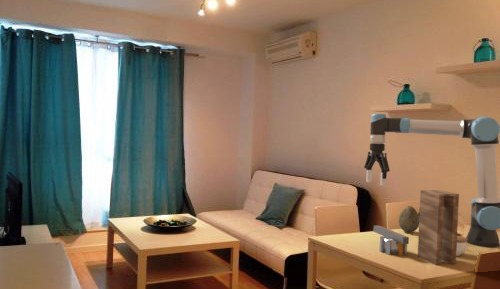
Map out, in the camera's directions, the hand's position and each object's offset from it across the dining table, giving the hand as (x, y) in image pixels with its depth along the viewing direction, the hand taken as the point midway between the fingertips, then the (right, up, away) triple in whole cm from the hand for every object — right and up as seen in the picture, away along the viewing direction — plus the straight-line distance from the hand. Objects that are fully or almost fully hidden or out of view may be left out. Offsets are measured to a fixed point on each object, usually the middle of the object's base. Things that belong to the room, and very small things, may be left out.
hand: (375, 183), depth 222 cm
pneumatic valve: (+40, -29, +33) cm, 60 cm away
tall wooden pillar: (+16, -30, -37) cm, 50 cm away
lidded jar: (+29, -31, -26) cm, 49 cm away
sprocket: (0, -29, -25) cm, 39 cm away
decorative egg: (+23, -29, +16) cm, 40 cm away
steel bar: (0, -23, -23) cm, 33 cm away
